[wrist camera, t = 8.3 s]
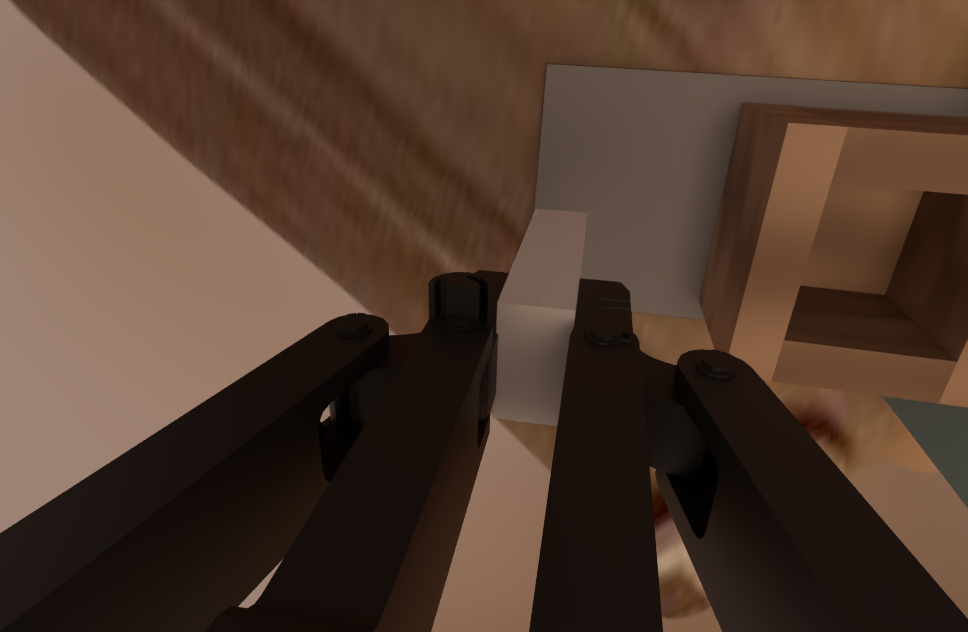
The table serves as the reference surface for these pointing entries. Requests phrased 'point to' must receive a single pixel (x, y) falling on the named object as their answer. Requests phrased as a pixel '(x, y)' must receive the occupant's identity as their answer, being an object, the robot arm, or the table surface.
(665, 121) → the backstop
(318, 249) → the table surface
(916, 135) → the brown wooden box
